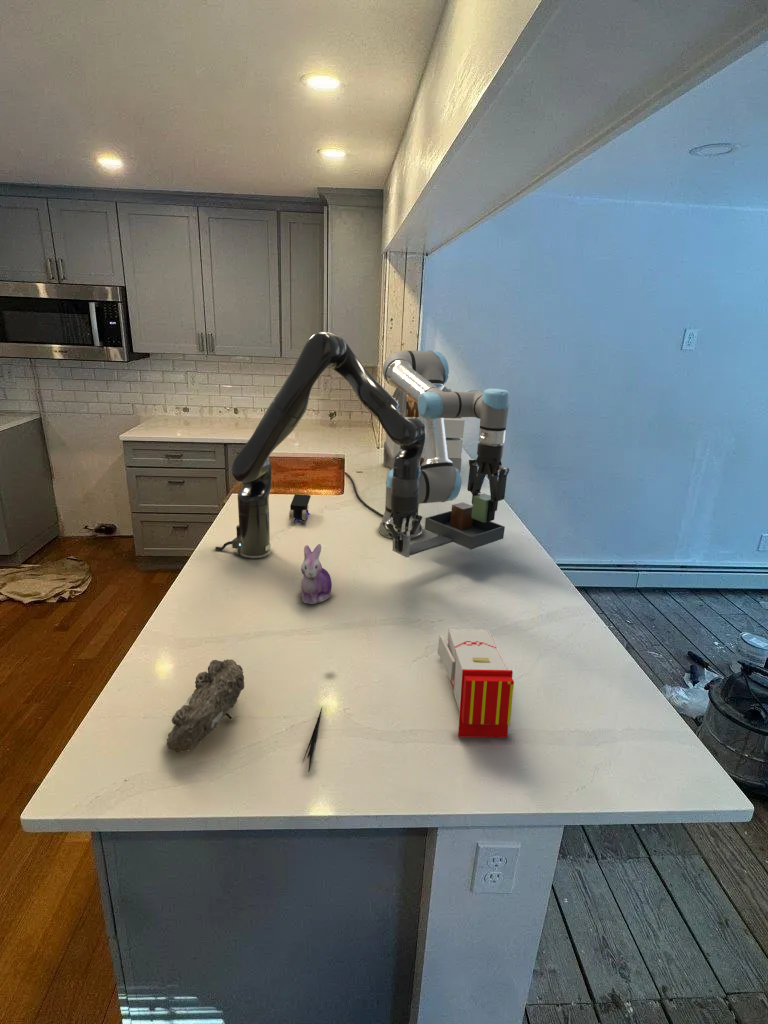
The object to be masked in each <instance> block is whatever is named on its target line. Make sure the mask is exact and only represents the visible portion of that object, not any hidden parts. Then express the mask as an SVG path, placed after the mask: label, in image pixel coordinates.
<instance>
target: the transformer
mask: <svg viewBox="0 0 768 1024" xmlns="http://www.w3.org/2000/svg"><path fill="white" fill-rule="evenodd" d="M442 391H443V392H455V391H453V390H452V389H451V388H447V386H444V388H443V389H442ZM391 396H392V397H393V398H394V399H395V400H396V401H397V402H398V403H399V406H400V409H399V412H400V413H401V414H402V415H403V417H404V418H405V419H406V418H410V417H417V418H419V413H418V404H417V403H416V402H415V401H414V400H413V399H412V398H410V397H409V396H408V395H407V394H406V393H404V392H403V391H402V390H401V389H400V388H395V390H394V392H393V394H392V395H391ZM443 419H444V428H445V437H446V446H447V454H448V459H449V460H451V461H452V462H453V468H456V469H458V470H459V473H460V474H461V472H462V461H463V460H462V453H463V442H464V441H463V440H462V439H463V438H464V431H465V430H464V429H465V419H464V418H463V417H453V418H443ZM399 450H400V446H398V445H397V444H395V443H394V442H393V441H392V440H391V439H390V438H389V436H388V435H387V433H386V432H385V438H384V442H383V466H384V467H388V468H389V471H390V470H391V469H393V464H394V458H395V456H396V455H397V454H398V452H399ZM423 462H424V458H423V451H422V455H421V458H420V466H421V464H422V463H423ZM461 475H462V474H461Z"/></svg>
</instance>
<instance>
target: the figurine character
mask: <svg viewBox="0 0 768 1024" xmlns="http://www.w3.org/2000/svg"><path fill="white" fill-rule="evenodd" d="M311 496H312V495H311V494H299V493H295V494H294V495H293V498H292V500H291V503H290V505H289V507H290V509H289V512H288V513H289V515H288V516H289V517H288V519H289V520H291V521H292V520H293V521H292V522H293V523H292V524H296V522H297V521H298V522H299V521H301V522H300V524H301V525H302V524H304V521H305V520H307V518H308V517H309V515H310V512H309V502H310V500H311Z"/></svg>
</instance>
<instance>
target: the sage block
mask: <svg viewBox="0 0 768 1024" xmlns="http://www.w3.org/2000/svg"><path fill="white" fill-rule="evenodd" d="M479 494H480V495H476V496H473V504H471V506H472V515H471V518H473V519H476V520H478V521H481V522H483V523H484V522H487V521H486V520H487V511H488V502H489V500H491V494H487V493H479ZM495 515H496V514H495ZM495 515H494V518H495Z"/></svg>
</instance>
